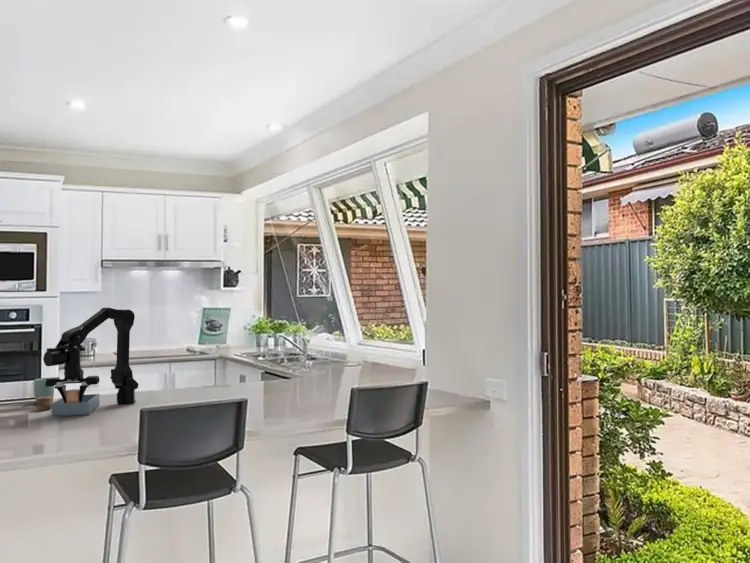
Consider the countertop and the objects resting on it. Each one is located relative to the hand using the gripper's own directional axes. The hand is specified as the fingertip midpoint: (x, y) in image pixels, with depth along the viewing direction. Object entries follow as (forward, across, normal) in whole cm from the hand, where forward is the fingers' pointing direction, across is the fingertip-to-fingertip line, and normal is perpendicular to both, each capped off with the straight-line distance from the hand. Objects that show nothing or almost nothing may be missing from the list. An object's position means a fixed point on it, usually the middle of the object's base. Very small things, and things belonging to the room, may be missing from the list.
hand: (73, 403), depth 265 cm
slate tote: (+4, 0, -5) cm, 7 cm away
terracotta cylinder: (+2, 0, 0) cm, 2 cm away
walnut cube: (+4, +14, -13) cm, 20 cm away
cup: (+4, +19, -31) cm, 37 cm away
